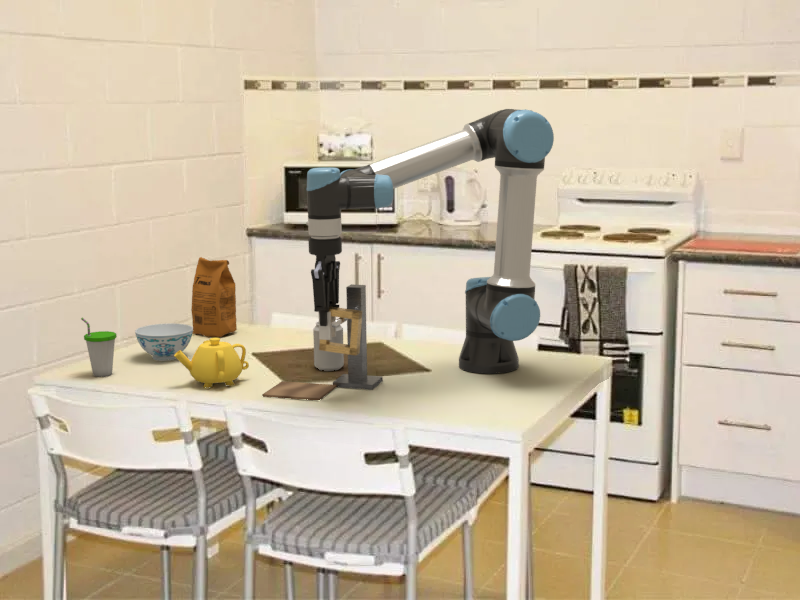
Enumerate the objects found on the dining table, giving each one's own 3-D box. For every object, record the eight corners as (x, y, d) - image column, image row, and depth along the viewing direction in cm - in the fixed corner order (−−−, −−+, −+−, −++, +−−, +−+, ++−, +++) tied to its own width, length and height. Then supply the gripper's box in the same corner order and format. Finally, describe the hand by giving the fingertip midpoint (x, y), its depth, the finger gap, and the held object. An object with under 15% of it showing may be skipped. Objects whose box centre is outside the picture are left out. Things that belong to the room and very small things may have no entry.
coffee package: (211, 327, 342) (208, 254, 338) (242, 333, 335) (239, 257, 331) (186, 334, 335) (183, 258, 330) (217, 339, 327) (214, 262, 323)
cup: (124, 371, 292) (121, 313, 289) (108, 379, 285) (105, 320, 282) (96, 370, 294) (93, 312, 292) (80, 377, 287) (76, 318, 284)
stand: (382, 381, 281) (381, 283, 276) (356, 403, 262) (354, 299, 257) (343, 378, 283) (341, 282, 279) (315, 400, 265) (312, 297, 260)
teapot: (207, 373, 290) (205, 329, 288) (254, 378, 285) (252, 334, 283) (173, 387, 277) (171, 342, 275) (222, 393, 272) (220, 347, 270)
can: (339, 372, 289) (338, 325, 287) (310, 371, 291) (309, 324, 289) (347, 365, 297) (346, 319, 294) (318, 364, 298) (317, 318, 296)
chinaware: (126, 363, 301) (124, 334, 300) (152, 349, 315) (150, 322, 314) (179, 366, 298) (178, 336, 296) (203, 352, 312) (202, 324, 310)
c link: (359, 353, 266) (362, 310, 264) (356, 355, 264) (359, 313, 262) (322, 347, 268) (325, 305, 266) (319, 350, 266) (321, 307, 264)
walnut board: (336, 387, 276) (336, 384, 275) (319, 400, 264) (319, 398, 264) (281, 383, 279) (281, 381, 279) (262, 396, 268) (262, 394, 268)
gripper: (321, 231, 270) (323, 329, 275) (296, 240, 255) (300, 344, 260) (351, 232, 268) (353, 331, 272) (329, 241, 253) (331, 346, 258)
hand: (327, 337), depth 266 cm, fingers closed on c link, 2 cm apart
